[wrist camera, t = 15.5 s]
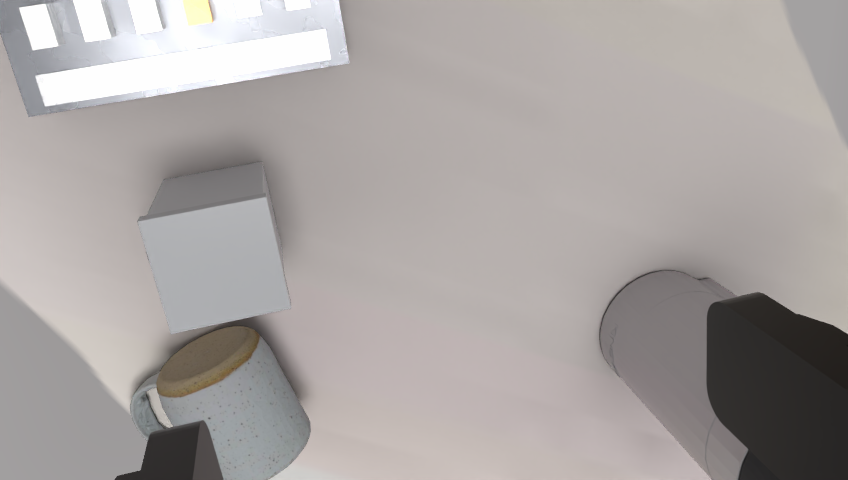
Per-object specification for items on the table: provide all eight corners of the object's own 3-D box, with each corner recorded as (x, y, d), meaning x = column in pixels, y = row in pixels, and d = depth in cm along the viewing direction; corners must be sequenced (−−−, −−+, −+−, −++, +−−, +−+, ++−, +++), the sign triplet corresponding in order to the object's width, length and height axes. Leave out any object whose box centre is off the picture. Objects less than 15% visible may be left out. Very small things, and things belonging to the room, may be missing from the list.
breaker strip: (320, -69, 42) (328, -75, 37) (342, 55, 44) (352, 66, 39) (6, -25, 39) (-31, -25, 34) (48, 104, 42) (19, 122, 37)
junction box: (264, 157, 46) (266, 197, 37) (286, 252, 48) (291, 308, 40) (144, 179, 44) (118, 225, 36) (171, 275, 47) (153, 337, 39)
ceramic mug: (258, 303, 49) (255, 359, 42) (310, 398, 52) (315, 465, 45) (109, 369, 48) (81, 437, 41) (170, 460, 51) (154, 538, 44)
